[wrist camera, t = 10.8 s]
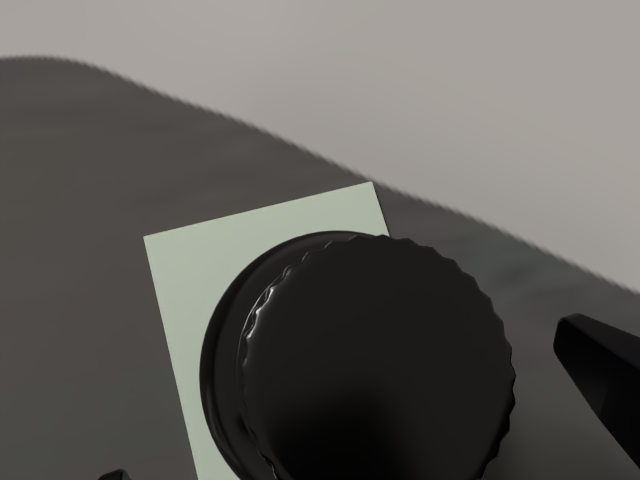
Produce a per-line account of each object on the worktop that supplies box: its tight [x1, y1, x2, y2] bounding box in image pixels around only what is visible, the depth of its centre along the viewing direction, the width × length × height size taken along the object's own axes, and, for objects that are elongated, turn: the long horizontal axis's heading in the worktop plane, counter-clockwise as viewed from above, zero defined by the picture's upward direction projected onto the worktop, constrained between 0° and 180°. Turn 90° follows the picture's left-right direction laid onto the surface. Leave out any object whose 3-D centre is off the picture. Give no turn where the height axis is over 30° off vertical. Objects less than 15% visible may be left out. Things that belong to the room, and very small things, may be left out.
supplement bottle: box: [199, 230, 516, 480], centre depth 14 cm, size 7×7×12 cm
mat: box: [144, 181, 389, 480], centre depth 20 cm, size 13×10×1 cm
